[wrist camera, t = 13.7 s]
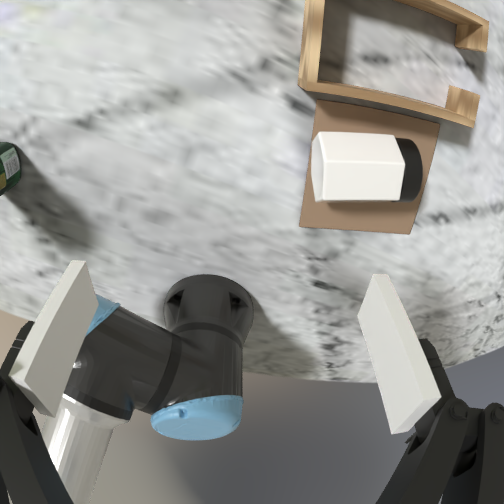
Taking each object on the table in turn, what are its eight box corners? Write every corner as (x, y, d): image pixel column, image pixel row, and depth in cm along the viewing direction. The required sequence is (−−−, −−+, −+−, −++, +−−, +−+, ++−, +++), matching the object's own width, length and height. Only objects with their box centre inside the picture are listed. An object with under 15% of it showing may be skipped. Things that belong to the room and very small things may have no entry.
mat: (408, 233, 46) (409, 234, 46) (299, 225, 45) (299, 226, 45) (439, 123, 36) (440, 124, 36) (316, 99, 35) (317, 99, 35)
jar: (309, 188, 42) (391, 188, 42) (321, 218, 35) (415, 217, 35) (311, 123, 37) (399, 128, 37) (325, 141, 30) (428, 147, 30)
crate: (449, 116, 35) (473, 128, 30) (297, 85, 34) (306, 90, 29) (462, 20, 27) (488, 21, 22) (307, -27, 26) (317, -40, 21)
